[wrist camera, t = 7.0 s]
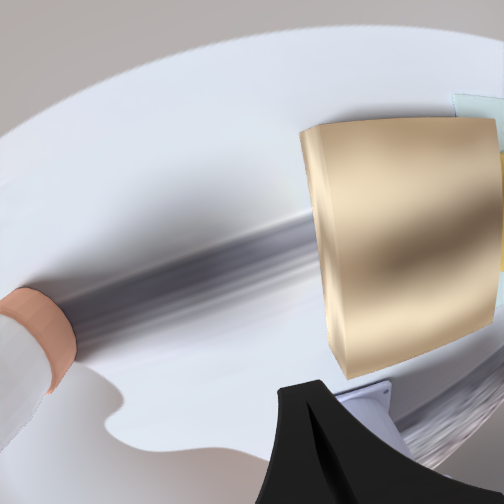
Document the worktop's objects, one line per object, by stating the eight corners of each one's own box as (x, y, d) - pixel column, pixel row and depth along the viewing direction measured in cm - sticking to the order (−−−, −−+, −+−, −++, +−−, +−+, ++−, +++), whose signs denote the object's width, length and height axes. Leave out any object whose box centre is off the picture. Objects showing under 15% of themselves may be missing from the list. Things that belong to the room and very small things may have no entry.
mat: (517, 294, 22) (519, 296, 21) (459, 322, 21) (461, 323, 21) (515, 101, 16) (517, 101, 16) (451, 94, 16) (454, 94, 16)
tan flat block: (462, 301, 21) (492, 322, 17) (328, 345, 21) (346, 380, 17) (457, 121, 17) (495, 118, 13) (299, 132, 17) (318, 124, 13)
